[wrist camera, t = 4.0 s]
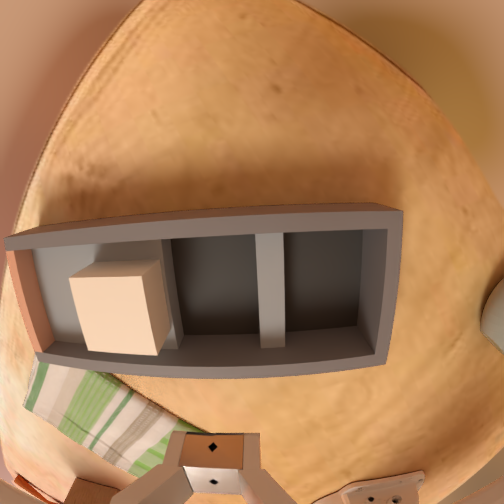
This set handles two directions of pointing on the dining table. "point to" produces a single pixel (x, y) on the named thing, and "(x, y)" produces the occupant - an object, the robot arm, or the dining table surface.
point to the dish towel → (102, 415)
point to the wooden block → (89, 493)
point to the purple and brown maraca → (30, 489)
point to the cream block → (122, 306)
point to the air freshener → (494, 317)
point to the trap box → (227, 288)
